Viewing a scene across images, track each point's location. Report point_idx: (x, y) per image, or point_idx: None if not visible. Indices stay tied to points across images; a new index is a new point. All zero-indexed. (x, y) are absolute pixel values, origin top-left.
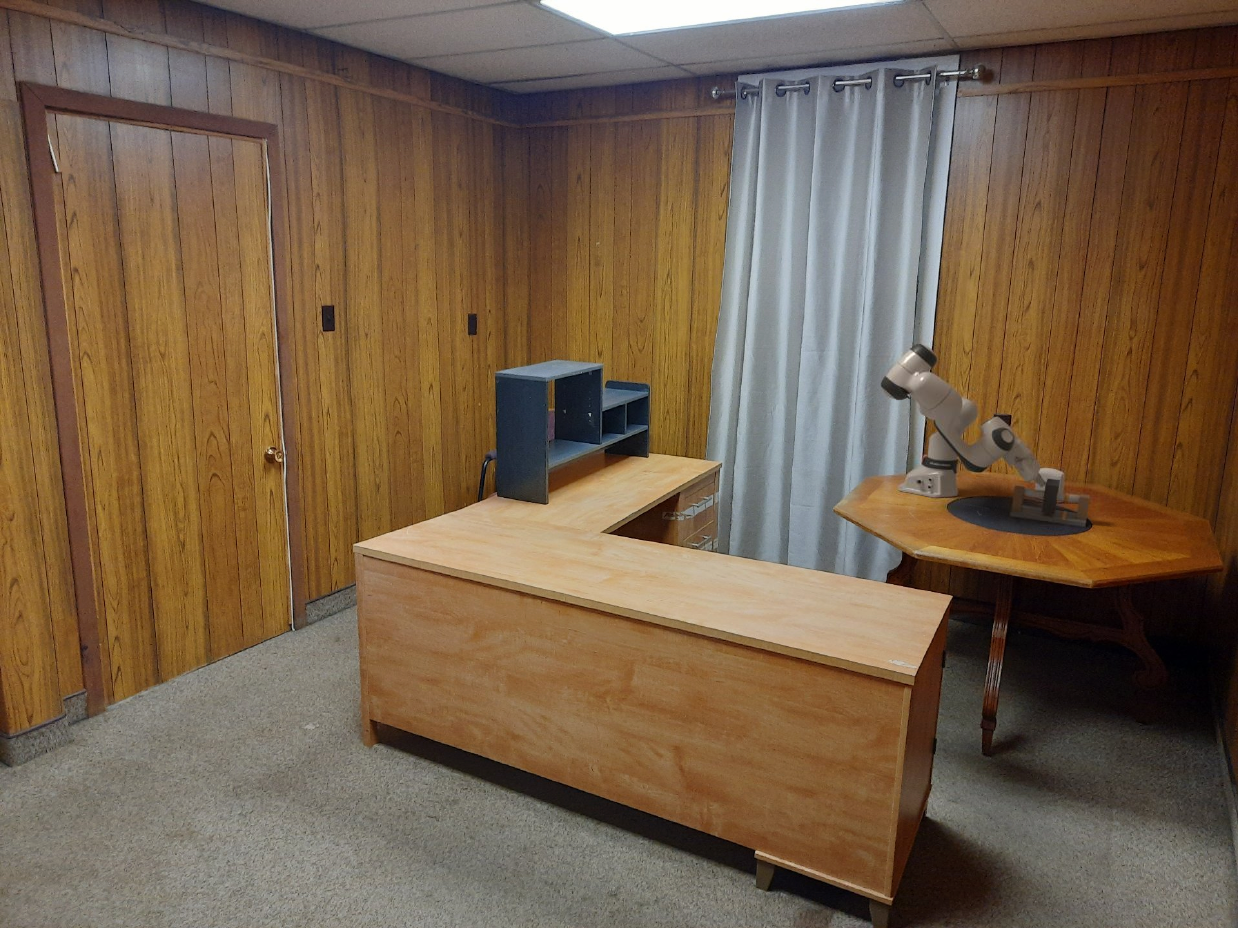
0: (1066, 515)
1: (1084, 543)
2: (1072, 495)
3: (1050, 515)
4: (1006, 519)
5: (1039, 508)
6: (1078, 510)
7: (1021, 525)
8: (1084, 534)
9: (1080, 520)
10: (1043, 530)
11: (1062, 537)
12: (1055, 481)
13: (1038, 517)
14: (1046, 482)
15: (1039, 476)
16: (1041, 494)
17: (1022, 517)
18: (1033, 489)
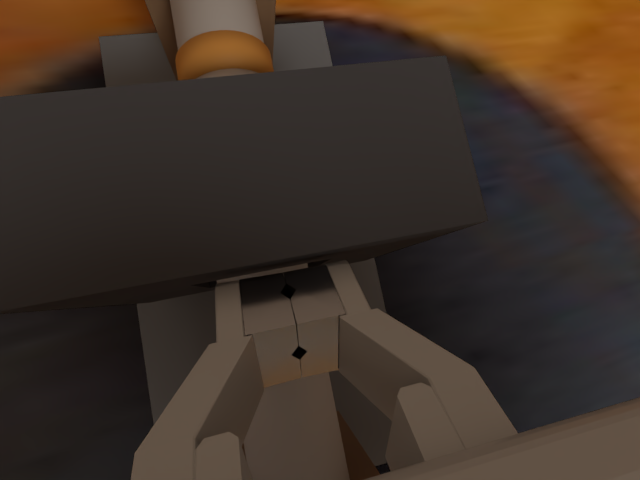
0: None
1: (591, 10)
2: (238, 5)
3: None
4: None
5: (161, 330)
6: (272, 31)
7: (540, 315)
8: (457, 26)
9: (288, 51)
10: (540, 198)
11: (580, 101)
12: (147, 142)
13: (374, 274)
14: (340, 243)
15: (210, 434)
16: None
17: None
18: (290, 406)
